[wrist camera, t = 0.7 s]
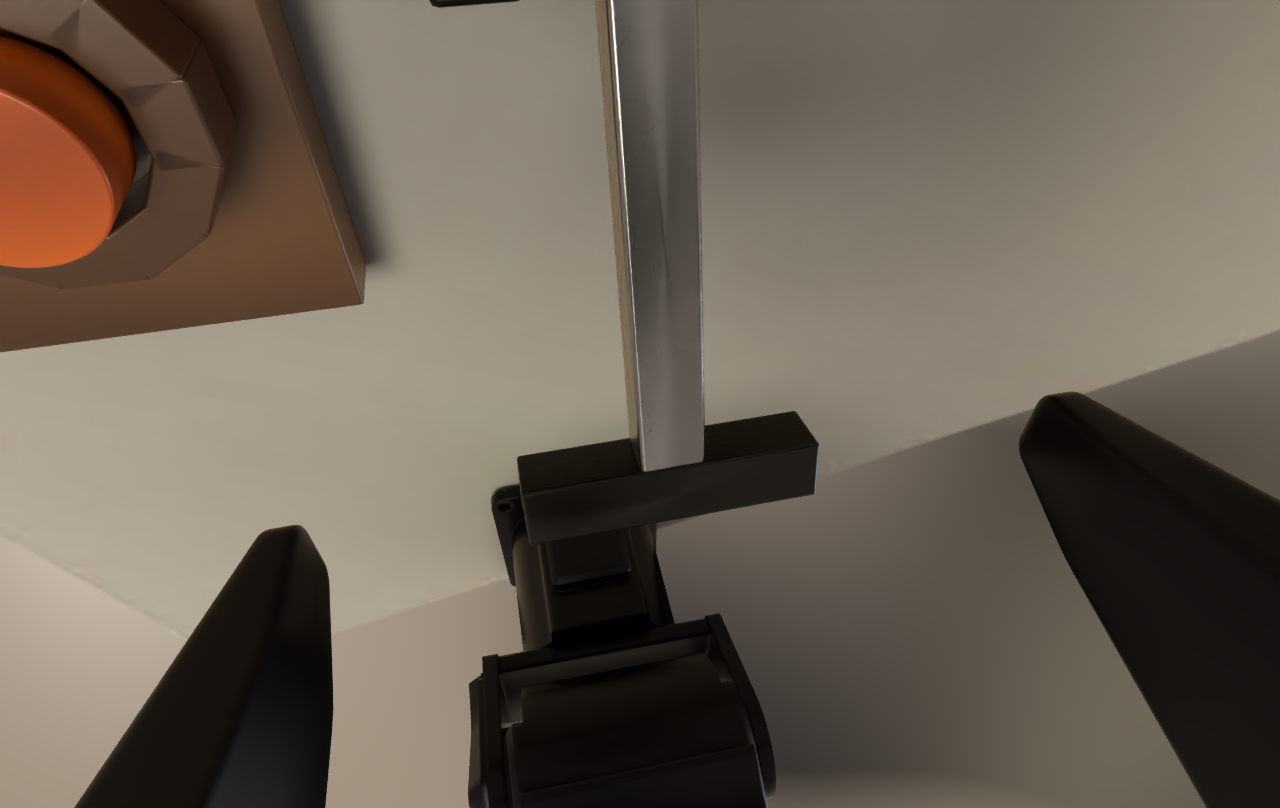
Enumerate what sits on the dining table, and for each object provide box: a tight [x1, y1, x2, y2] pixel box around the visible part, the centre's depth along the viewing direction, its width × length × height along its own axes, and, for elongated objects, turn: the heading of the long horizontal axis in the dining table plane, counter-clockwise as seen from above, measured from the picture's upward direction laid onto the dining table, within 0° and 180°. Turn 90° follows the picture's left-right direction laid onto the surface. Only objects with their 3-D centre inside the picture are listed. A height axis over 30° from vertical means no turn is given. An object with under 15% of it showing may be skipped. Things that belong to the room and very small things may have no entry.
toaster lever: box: [517, 0, 819, 545], centre depth 10 cm, size 12×5×2 cm, turn 179°
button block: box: [0, 0, 366, 352], centre depth 15 cm, size 12×9×4 cm
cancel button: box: [0, 36, 137, 268], centre depth 13 cm, size 4×4×2 cm
